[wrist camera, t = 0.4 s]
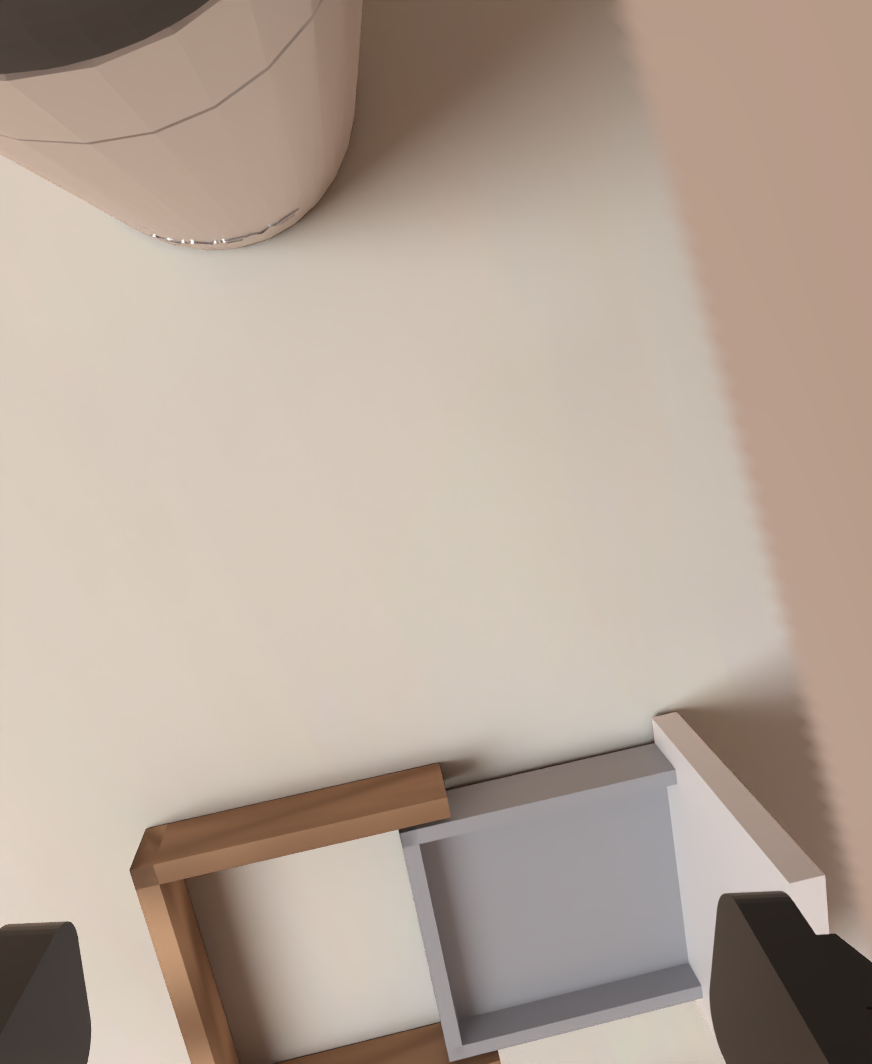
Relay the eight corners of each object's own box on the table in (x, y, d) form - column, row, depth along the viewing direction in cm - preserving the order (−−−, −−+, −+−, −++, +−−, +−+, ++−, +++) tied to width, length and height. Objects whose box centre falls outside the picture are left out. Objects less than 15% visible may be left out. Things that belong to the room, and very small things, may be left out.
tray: (389, 776, 30) (412, 975, 21) (676, 711, 31) (825, 875, 22) (447, 1041, 33) (491, 1320, 24) (707, 976, 34) (849, 1221, 25)
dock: (145, 828, 30) (129, 870, 27) (438, 762, 31) (447, 797, 28) (227, 1092, 33) (218, 1149, 30) (491, 1026, 34) (503, 1077, 31)
